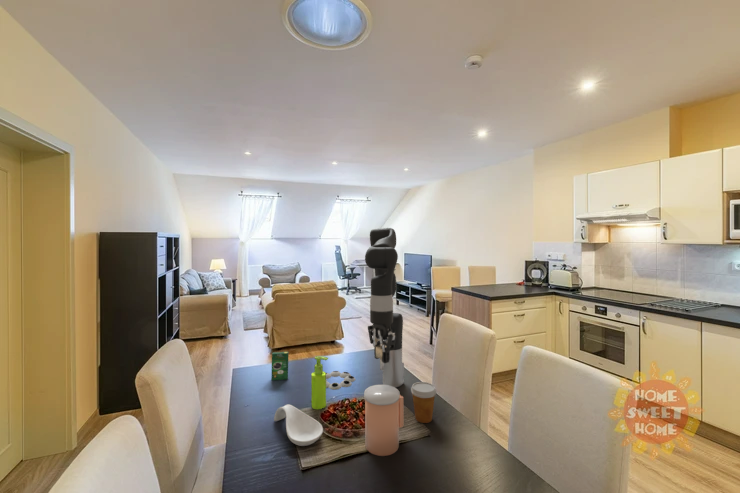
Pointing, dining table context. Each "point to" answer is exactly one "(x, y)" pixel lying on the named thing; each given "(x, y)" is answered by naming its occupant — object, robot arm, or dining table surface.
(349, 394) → the dining table surface
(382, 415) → the press pot
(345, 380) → the paint palette
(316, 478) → the dining table surface
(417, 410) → the disposable coffee cup
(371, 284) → the robot arm
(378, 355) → the plunger
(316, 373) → the soap dispenser
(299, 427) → the spoon rest
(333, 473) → the dining table surface
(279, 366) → the coffee box
